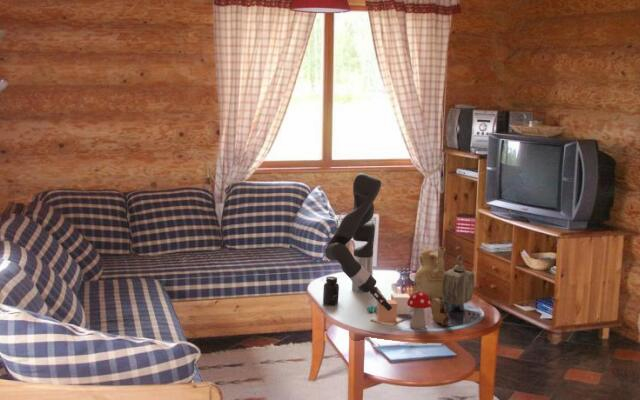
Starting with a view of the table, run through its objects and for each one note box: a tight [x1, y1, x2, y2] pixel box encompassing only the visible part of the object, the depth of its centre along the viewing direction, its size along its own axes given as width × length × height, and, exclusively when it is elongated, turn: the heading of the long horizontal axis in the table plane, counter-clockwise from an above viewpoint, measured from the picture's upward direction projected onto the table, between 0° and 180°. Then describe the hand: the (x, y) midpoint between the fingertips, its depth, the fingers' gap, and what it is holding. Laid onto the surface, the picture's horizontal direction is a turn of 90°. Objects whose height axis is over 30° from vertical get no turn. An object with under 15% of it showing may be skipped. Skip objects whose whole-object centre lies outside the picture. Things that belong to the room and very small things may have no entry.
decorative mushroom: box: [407, 291, 432, 330], centre depth 303 cm, size 10×9×15 cm
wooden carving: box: [429, 298, 450, 326], centre depth 311 cm, size 16×5×10 cm, turn 17°
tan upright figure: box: [413, 246, 446, 300], centre depth 349 cm, size 17×20×25 cm
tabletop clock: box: [441, 254, 475, 312], centre depth 328 cm, size 14×9×25 cm, turn 145°
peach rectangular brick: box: [375, 299, 398, 321], centre depth 310 cm, size 7×5×8 cm
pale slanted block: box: [390, 293, 411, 315], centre depth 322 cm, size 7×5×8 cm
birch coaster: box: [370, 316, 404, 327], centre depth 311 cm, size 10×10×1 cm
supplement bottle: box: [322, 276, 340, 307], centre depth 330 cm, size 7×7×12 cm
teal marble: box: [366, 304, 375, 313], centre depth 322 cm, size 3×3×3 cm
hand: (388, 306), depth 310 cm, fingers open, 8 cm apart
